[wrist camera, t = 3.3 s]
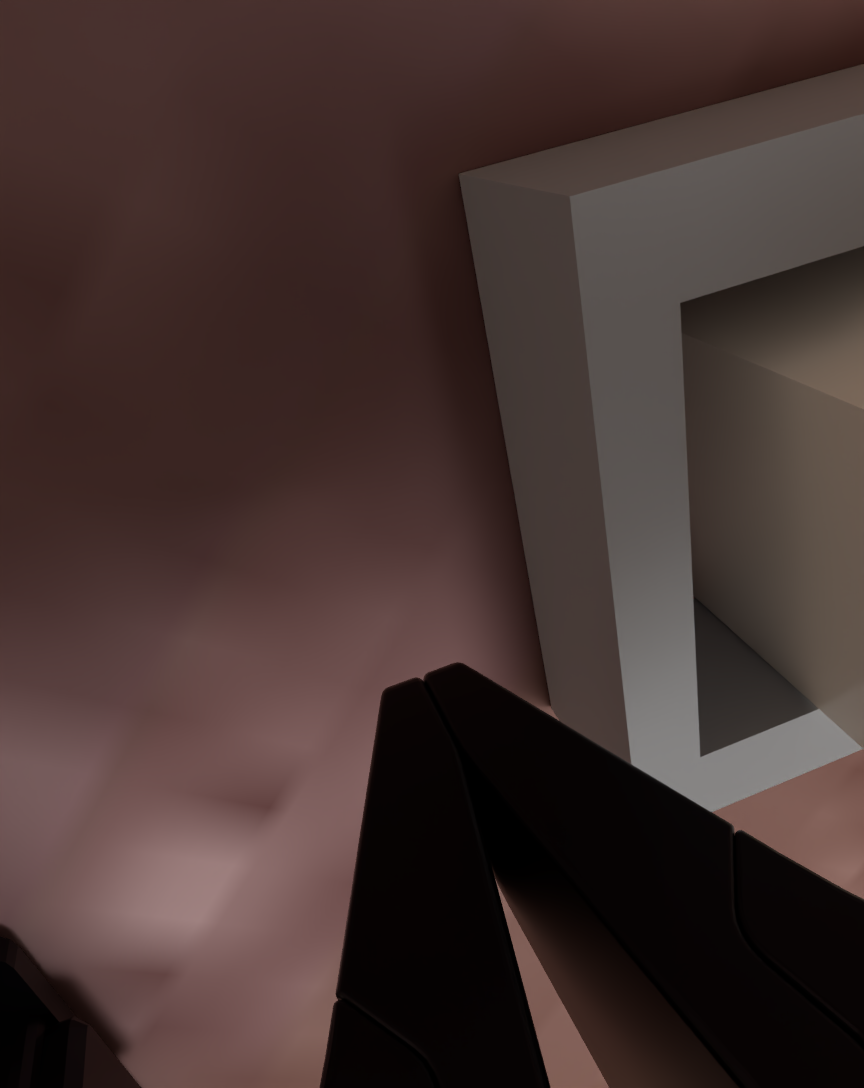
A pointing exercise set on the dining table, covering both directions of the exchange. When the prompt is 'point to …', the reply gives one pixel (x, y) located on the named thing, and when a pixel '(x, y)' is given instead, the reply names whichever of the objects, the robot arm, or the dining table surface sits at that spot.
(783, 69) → the dining table surface
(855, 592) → the block
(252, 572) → the dining table surface
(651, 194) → the holder
